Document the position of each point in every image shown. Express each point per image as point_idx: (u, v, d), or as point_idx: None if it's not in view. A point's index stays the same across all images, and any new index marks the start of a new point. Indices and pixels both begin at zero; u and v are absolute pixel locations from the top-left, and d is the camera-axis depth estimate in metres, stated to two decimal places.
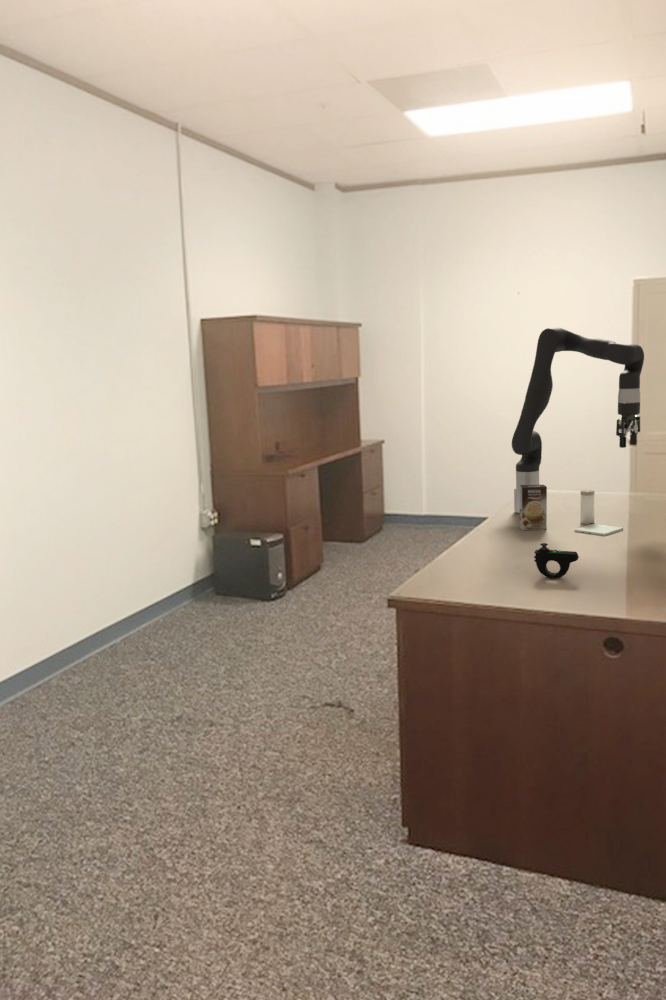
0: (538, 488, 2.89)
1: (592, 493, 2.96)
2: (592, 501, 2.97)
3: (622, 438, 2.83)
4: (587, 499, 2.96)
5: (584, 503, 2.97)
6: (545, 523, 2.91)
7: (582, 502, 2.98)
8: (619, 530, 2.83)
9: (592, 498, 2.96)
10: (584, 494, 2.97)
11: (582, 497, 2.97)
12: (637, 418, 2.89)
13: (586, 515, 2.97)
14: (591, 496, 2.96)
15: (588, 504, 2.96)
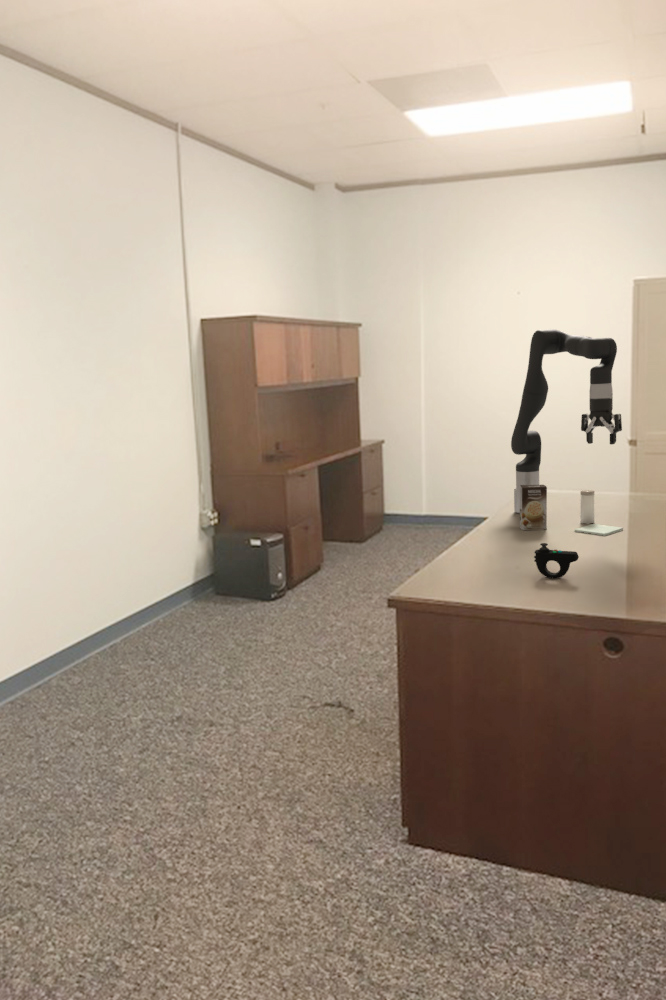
0: (538, 488, 2.89)
1: (592, 493, 2.96)
2: (592, 501, 2.97)
3: (615, 434, 2.72)
4: (587, 499, 2.96)
5: (584, 503, 2.97)
6: (545, 523, 2.91)
7: (582, 502, 2.98)
8: (619, 530, 2.83)
9: (592, 498, 2.96)
10: (584, 494, 2.97)
11: (582, 497, 2.97)
12: None
13: (586, 515, 2.97)
14: (591, 496, 2.96)
15: (588, 504, 2.96)
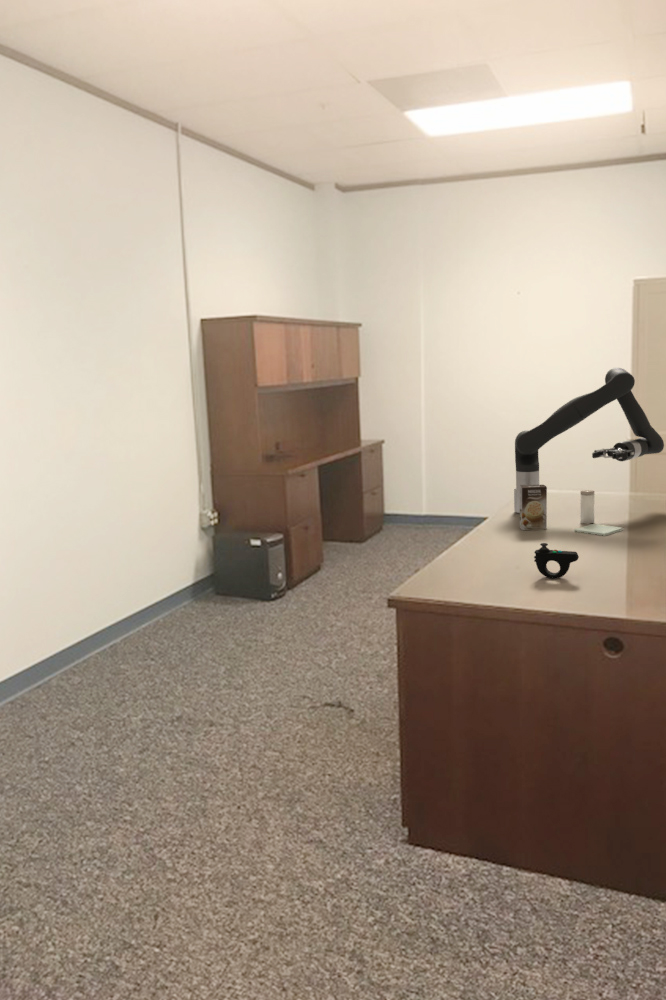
0: (538, 488, 2.89)
1: (592, 493, 2.96)
2: (592, 501, 2.97)
3: None
4: (587, 499, 2.96)
5: (584, 503, 2.97)
6: (545, 523, 2.91)
7: (582, 502, 2.98)
8: (619, 530, 2.83)
9: (592, 498, 2.96)
10: (584, 494, 2.97)
11: (582, 497, 2.97)
12: None
13: (586, 515, 2.97)
14: (591, 496, 2.96)
15: (588, 504, 2.96)
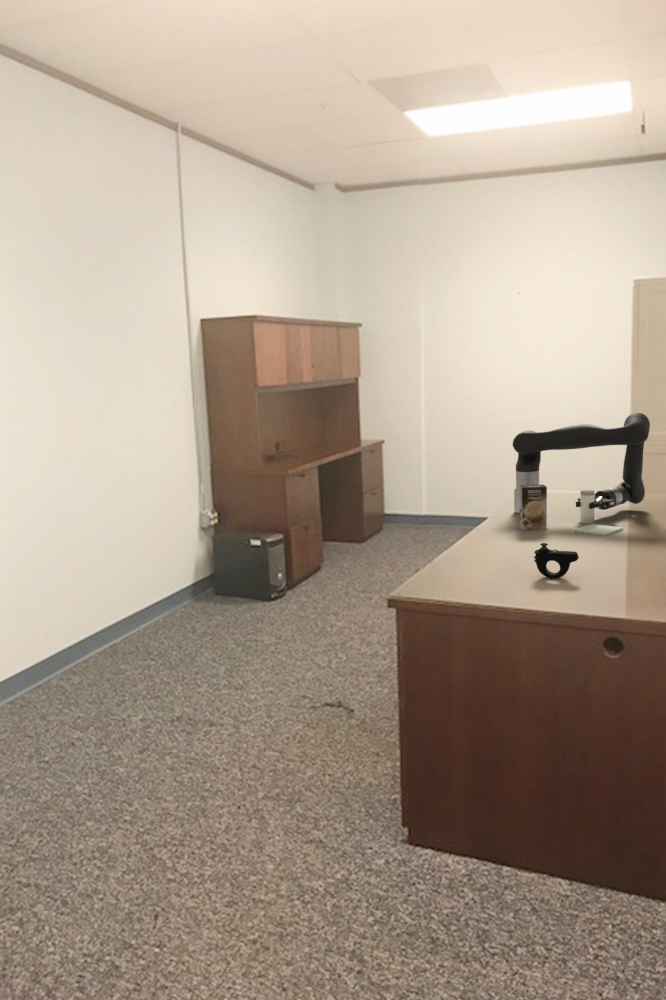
0: (538, 488, 2.89)
1: (592, 493, 2.96)
2: (592, 501, 2.97)
3: None
4: (587, 499, 2.96)
5: (584, 503, 2.97)
6: (545, 523, 2.91)
7: (582, 502, 2.98)
8: (619, 530, 2.83)
9: (592, 498, 2.96)
10: (584, 494, 2.97)
11: (582, 497, 2.97)
12: None
13: (586, 515, 2.97)
14: (591, 496, 2.96)
15: (588, 504, 2.96)
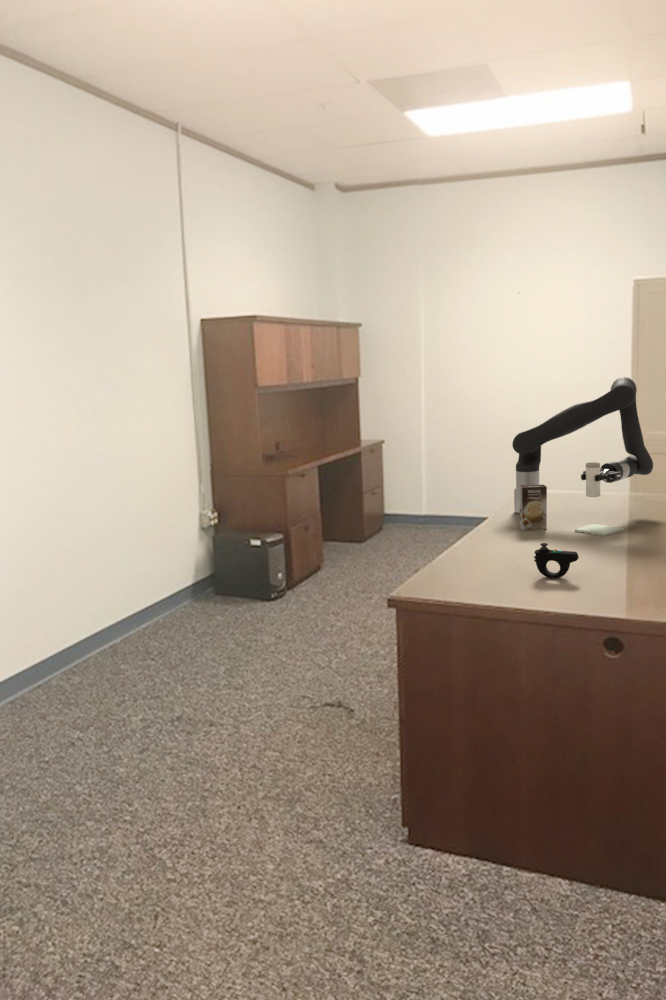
0: (538, 488, 2.89)
1: (598, 465, 2.87)
2: (598, 473, 2.88)
3: None
4: (593, 471, 2.88)
5: (589, 476, 2.89)
6: (545, 523, 2.91)
7: (587, 475, 2.89)
8: (619, 530, 2.83)
9: (598, 470, 2.88)
10: (589, 467, 2.88)
11: (587, 469, 2.89)
12: None
13: (592, 488, 2.89)
14: (596, 468, 2.87)
15: (593, 476, 2.88)
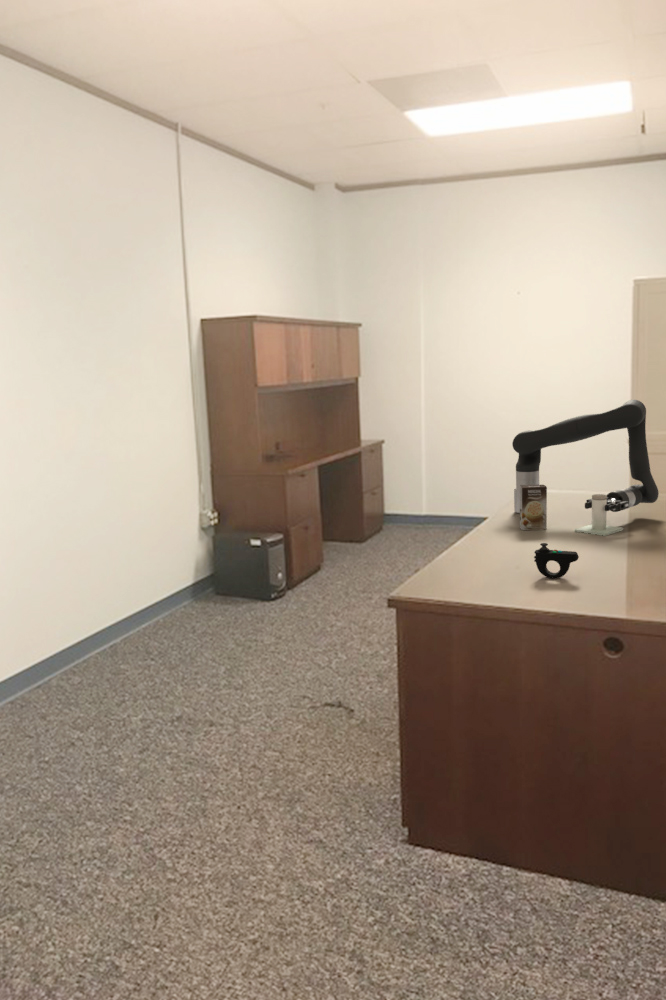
0: (538, 488, 2.89)
1: (604, 498, 2.81)
2: (604, 506, 2.82)
3: None
4: (599, 504, 2.81)
5: (596, 508, 2.82)
6: (545, 523, 2.91)
7: (594, 507, 2.83)
8: (619, 530, 2.83)
9: (604, 503, 2.81)
10: (595, 499, 2.82)
11: (594, 502, 2.82)
12: None
13: (598, 520, 2.83)
14: (603, 501, 2.81)
15: (600, 509, 2.82)
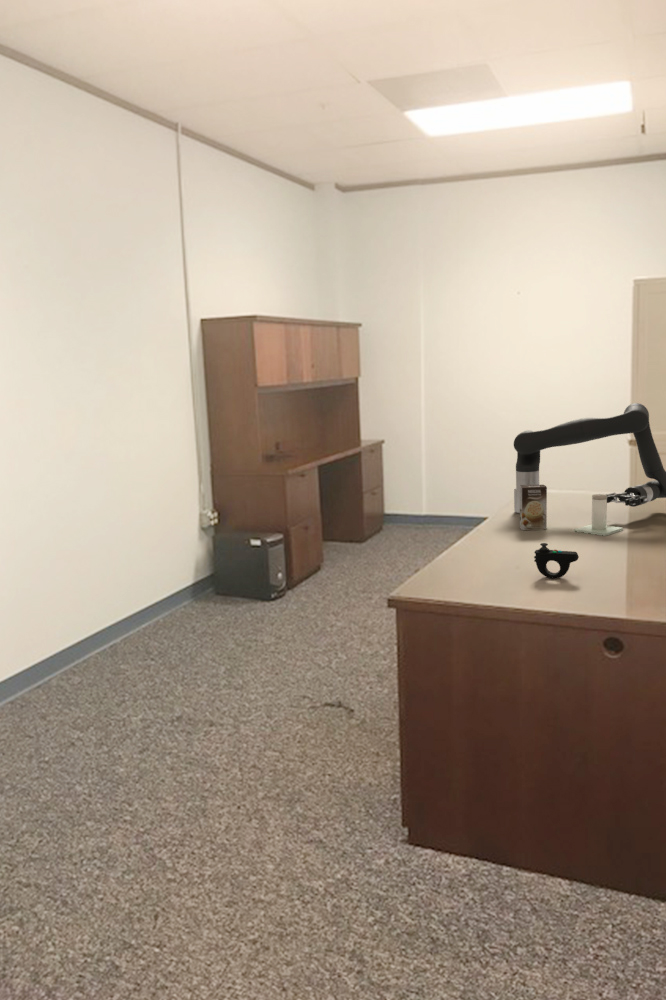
0: (538, 488, 2.89)
1: (604, 497, 2.81)
2: (604, 506, 2.82)
3: None
4: (599, 504, 2.82)
5: (596, 508, 2.82)
6: (545, 523, 2.91)
7: (594, 507, 2.83)
8: (619, 530, 2.83)
9: (604, 503, 2.82)
10: (595, 499, 2.82)
11: (594, 501, 2.83)
12: None
13: (598, 520, 2.83)
14: (603, 501, 2.81)
15: (600, 509, 2.82)
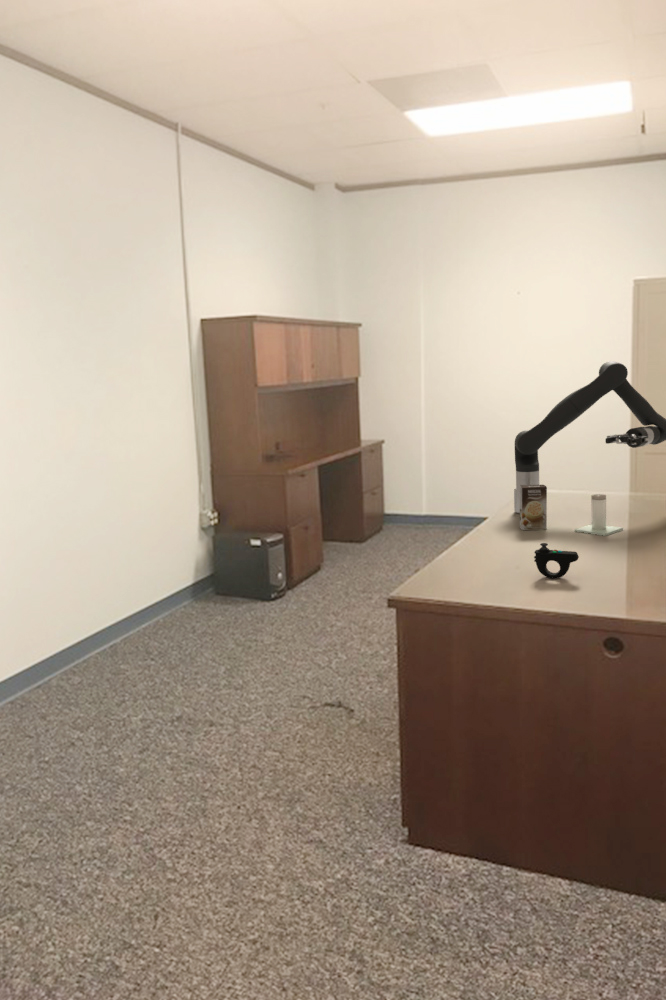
0: (538, 488, 2.89)
1: (603, 497, 2.81)
2: (604, 506, 2.82)
3: None
4: (599, 504, 2.81)
5: (595, 508, 2.82)
6: (545, 523, 2.91)
7: (593, 507, 2.83)
8: (619, 530, 2.83)
9: (604, 503, 2.82)
10: (595, 499, 2.82)
11: (593, 502, 2.83)
12: None
13: (598, 520, 2.83)
14: (602, 501, 2.81)
15: (599, 509, 2.82)
